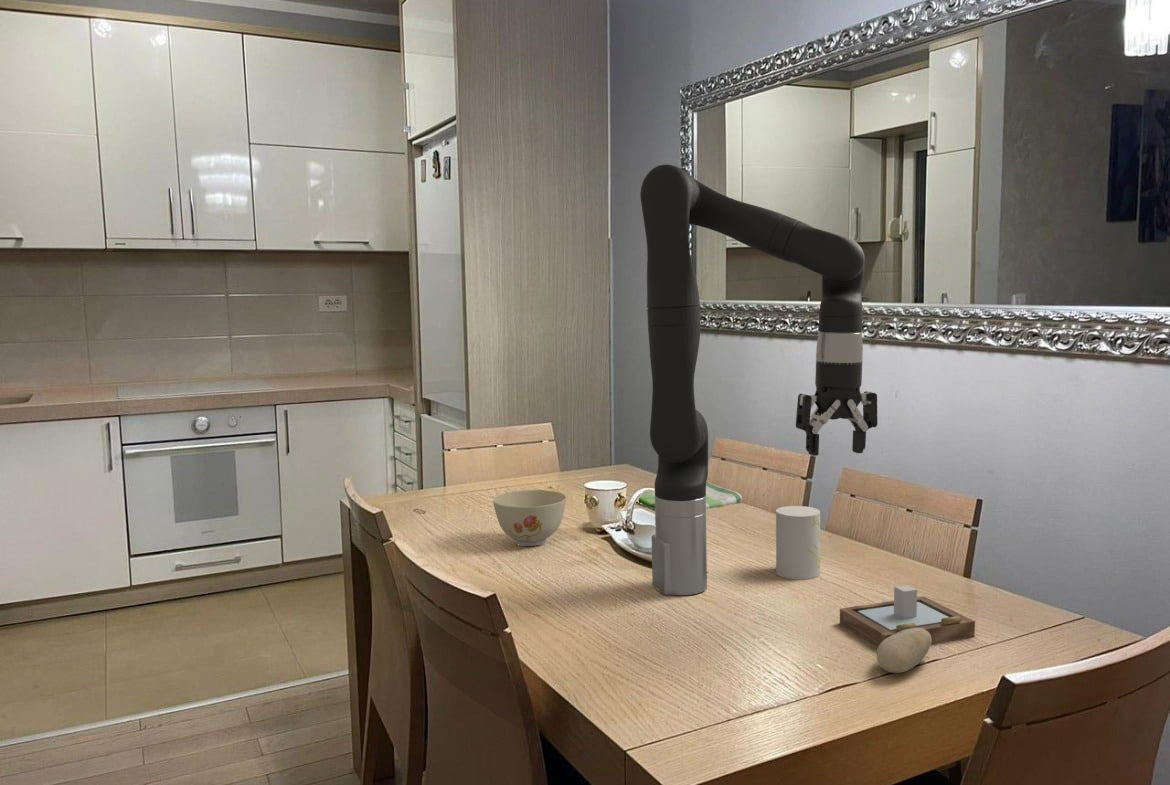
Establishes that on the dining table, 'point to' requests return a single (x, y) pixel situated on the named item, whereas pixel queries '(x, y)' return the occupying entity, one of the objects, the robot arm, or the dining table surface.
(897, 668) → the stone
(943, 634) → the cabinet frame
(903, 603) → the panel with block handle
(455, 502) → the dining table surface
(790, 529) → the grey upright cylinder
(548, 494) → the bowl
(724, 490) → the dish towel
